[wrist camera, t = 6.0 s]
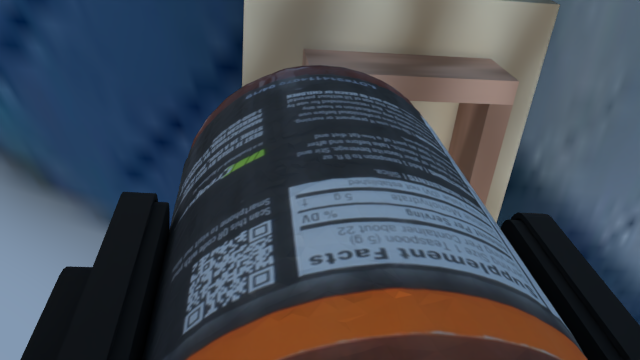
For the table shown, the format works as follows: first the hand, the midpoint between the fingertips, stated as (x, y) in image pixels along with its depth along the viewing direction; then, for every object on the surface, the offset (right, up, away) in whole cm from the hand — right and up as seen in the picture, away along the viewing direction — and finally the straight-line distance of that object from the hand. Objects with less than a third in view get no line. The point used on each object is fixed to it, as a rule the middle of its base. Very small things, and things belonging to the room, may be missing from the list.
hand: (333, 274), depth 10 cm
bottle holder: (+3, +4, +22) cm, 23 cm away
